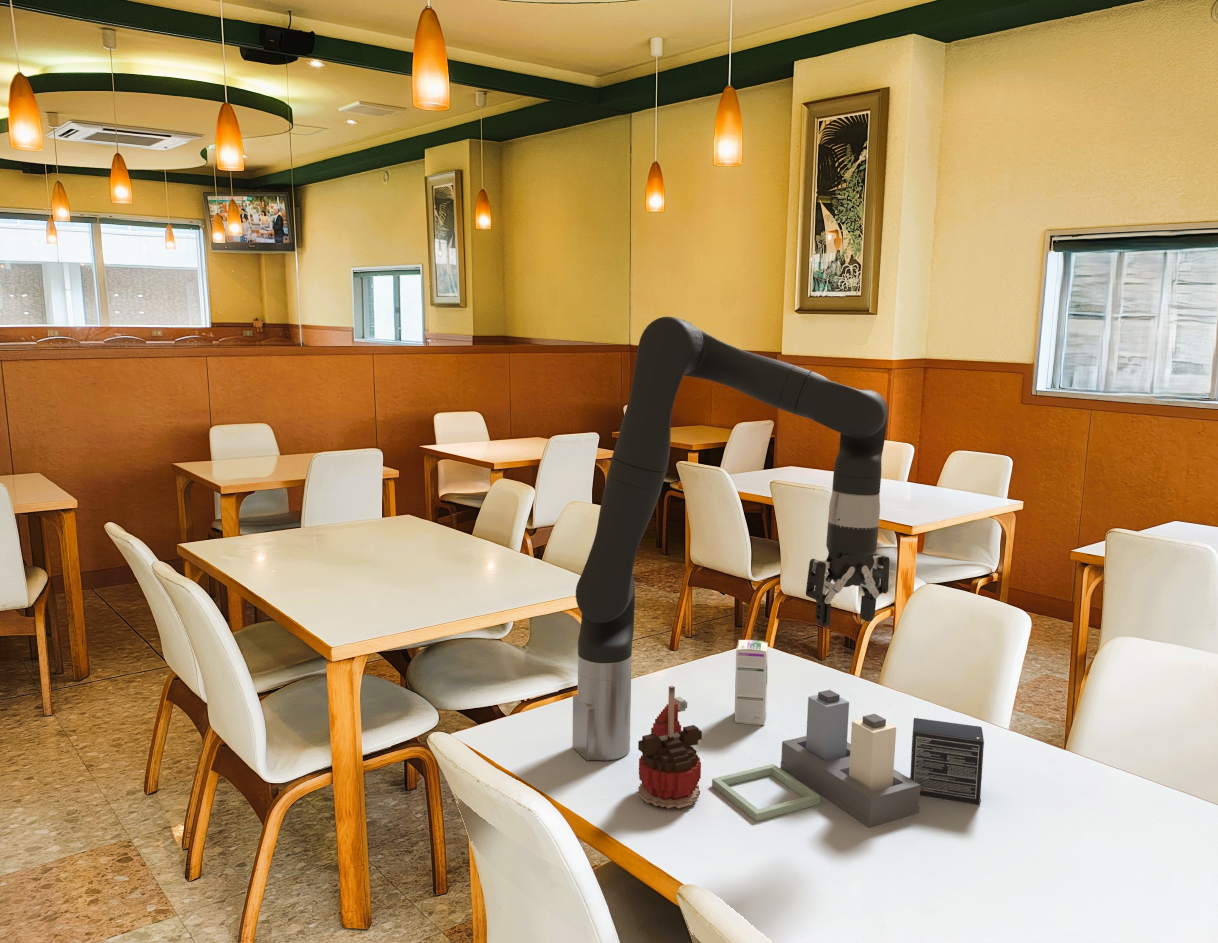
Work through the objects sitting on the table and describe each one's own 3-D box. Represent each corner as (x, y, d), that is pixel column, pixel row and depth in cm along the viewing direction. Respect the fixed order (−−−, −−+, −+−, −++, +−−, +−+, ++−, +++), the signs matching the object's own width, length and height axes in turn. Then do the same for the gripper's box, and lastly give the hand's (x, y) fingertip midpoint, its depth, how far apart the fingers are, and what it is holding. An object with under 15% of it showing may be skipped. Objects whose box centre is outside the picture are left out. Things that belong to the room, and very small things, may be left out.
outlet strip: (868, 827, 133) (870, 798, 132) (780, 767, 152) (781, 741, 151) (918, 812, 137) (920, 784, 137) (827, 755, 156) (828, 730, 155)
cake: (654, 818, 135) (657, 703, 132) (624, 790, 143) (626, 682, 140) (714, 802, 140) (718, 691, 137) (682, 776, 148) (685, 671, 145)
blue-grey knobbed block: (823, 777, 146) (827, 701, 144) (805, 765, 150) (808, 690, 148) (845, 771, 148) (849, 696, 146) (826, 760, 152) (830, 686, 150)
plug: (868, 807, 137) (873, 726, 135) (847, 794, 141) (852, 714, 139) (891, 801, 139) (896, 720, 137) (870, 788, 143) (874, 709, 141)
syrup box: (765, 726, 168) (768, 650, 166) (733, 722, 169) (735, 648, 167) (766, 713, 173) (769, 640, 171) (735, 710, 174) (737, 638, 172)
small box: (978, 786, 146) (983, 725, 144) (980, 806, 140) (985, 741, 138) (909, 775, 149) (913, 715, 148) (908, 793, 143) (913, 731, 142)
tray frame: (756, 821, 134) (756, 813, 134) (711, 785, 145) (712, 778, 145) (820, 803, 140) (820, 796, 139) (772, 770, 150) (773, 763, 150)
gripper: (832, 528, 132) (824, 635, 134) (906, 523, 138) (897, 625, 140) (800, 518, 139) (793, 620, 141) (872, 513, 145) (864, 611, 147)
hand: (845, 622), depth 141 cm, fingers open, 8 cm apart
